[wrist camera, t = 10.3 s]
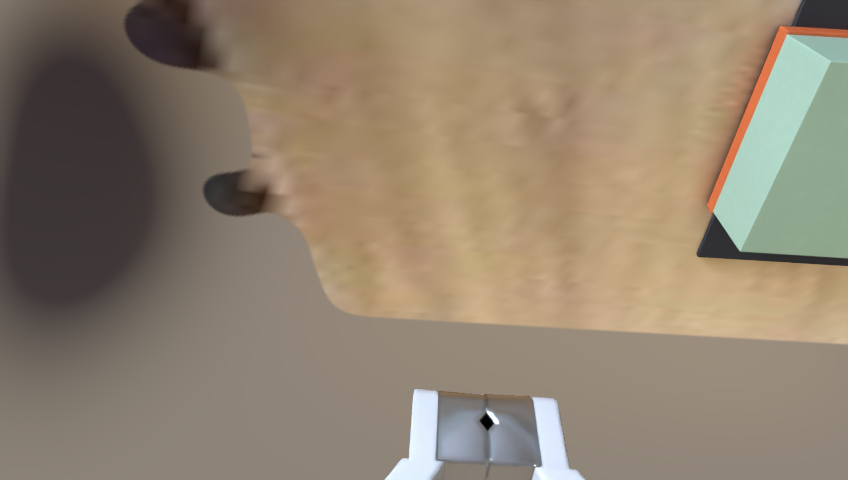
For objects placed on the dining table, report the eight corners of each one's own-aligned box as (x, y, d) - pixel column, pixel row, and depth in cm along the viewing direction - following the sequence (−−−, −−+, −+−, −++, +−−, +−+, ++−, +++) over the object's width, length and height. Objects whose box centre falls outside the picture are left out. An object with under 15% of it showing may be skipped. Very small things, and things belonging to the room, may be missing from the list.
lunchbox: (736, 259, 36) (874, 268, 36) (836, 48, 28) (1013, 59, 28) (704, 211, 40) (826, 218, 40) (782, 18, 32) (934, 27, 32)
